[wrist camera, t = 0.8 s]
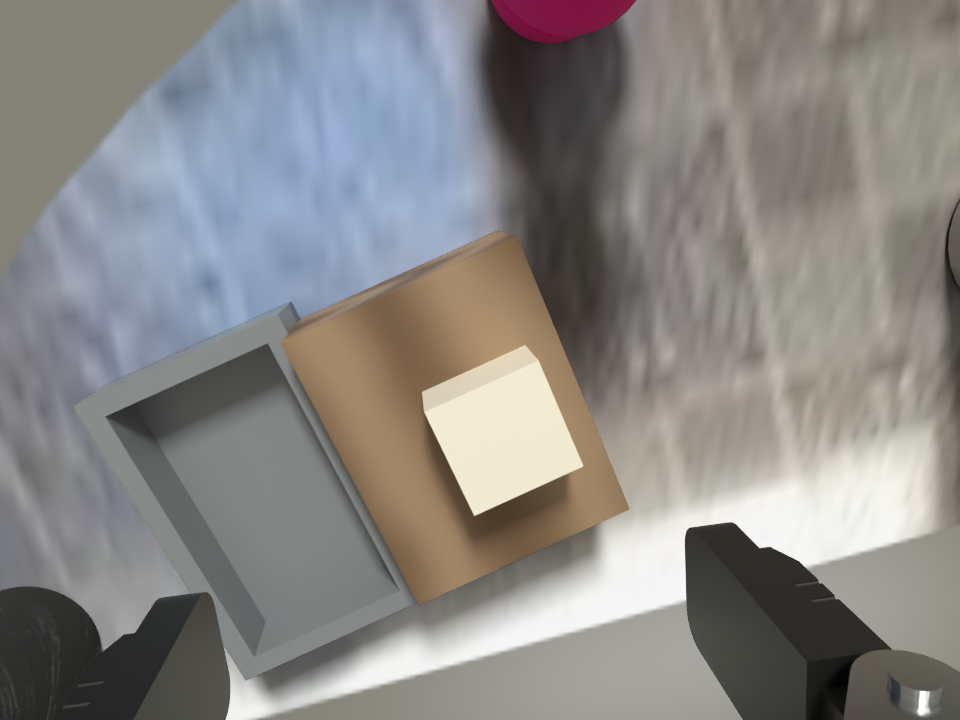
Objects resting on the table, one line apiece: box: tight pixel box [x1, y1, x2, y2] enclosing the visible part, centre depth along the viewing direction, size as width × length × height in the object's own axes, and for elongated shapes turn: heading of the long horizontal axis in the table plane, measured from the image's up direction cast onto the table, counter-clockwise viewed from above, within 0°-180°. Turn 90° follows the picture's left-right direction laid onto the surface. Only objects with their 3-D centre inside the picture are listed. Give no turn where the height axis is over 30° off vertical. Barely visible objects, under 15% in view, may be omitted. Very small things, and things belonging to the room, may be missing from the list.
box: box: [73, 302, 417, 680], centre depth 34 cm, size 10×16×4 cm, turn 24°
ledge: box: [281, 231, 629, 605], centre depth 34 cm, size 11×14×6 cm
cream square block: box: [422, 345, 583, 516], centre depth 29 cm, size 5×5×3 cm
